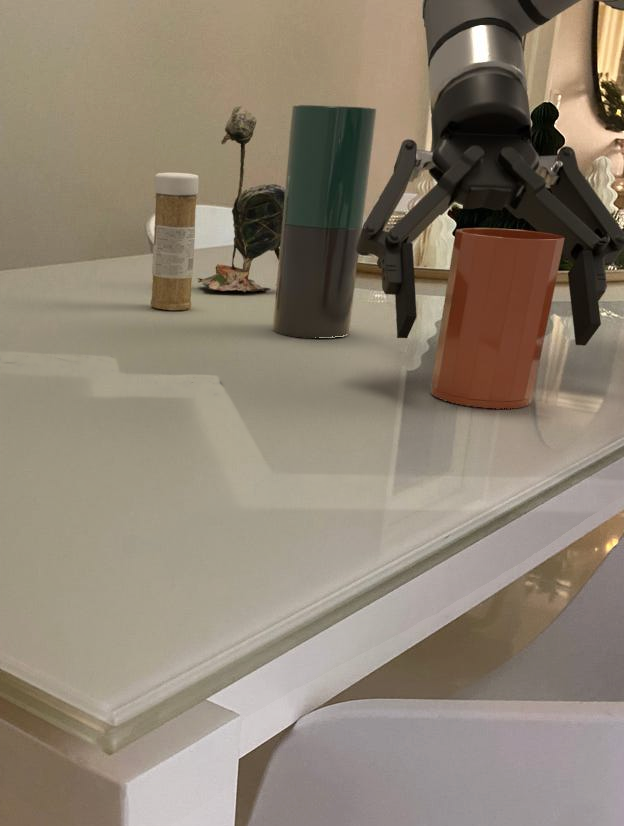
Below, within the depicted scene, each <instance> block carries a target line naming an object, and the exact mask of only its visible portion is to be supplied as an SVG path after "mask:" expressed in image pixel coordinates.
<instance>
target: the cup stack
mask: <svg viewBox="0 0 624 826" xmlns="http://www.w3.org/2000/svg"><path fill="white" fill-rule="evenodd" d="M376 116H377V108H372V107H364V106H363V107H362V106H340V105H339V106H338V105H312V104H311V105H309V104H303V105H302V104H298V105H292V109H291V118H290V129H289V140H288V141H289V142H288V152H287V164H286V173H285V174H286V175H285V176H286V177H285V187H284V189H285V197H284V208H283V219H282V230H281V242H280V247H279V249H280V253H279V260H278V263H277V265H278V266H277V276H276V288H275V299H274V311H273V321H272V331H273V332H274V333H276V334H280V335H283V336H287V337H293V338H299V337H302V338H301V339H311V338H315V337H316V338H319V337H332V336H333V337H335V336H343V335H346V334H349V335H350V330H351V322H352V315H353V307H354V297H355V290H356V280H357V272H358V265H359V256H360V254H358V253H357V251H356V247H357V243H358V240H359V237H360V234H361V231H362V228H363V225H364V215H365V207H366V200H367V191H368V183H369V175H370V165H371V158H372V150H373V142H374V133H375V125H376Z"/></svg>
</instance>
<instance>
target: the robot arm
mask: <svg viewBox="0 0 624 826" xmlns="http://www.w3.org/2000/svg"><path fill="white" fill-rule="evenodd" d="M580 1H582V0H422V10H421V11H422V13H421V14H422V15H421V16H422V20H423V27H424V29H425V40H426V48H427V49H426V50H427V66H428V87H429V101H430V102H429V105H430V114H431V117H430V121H431V122H430V123H431V124H430V125H431V139H432V150H424V149H418V145H417V143H416V141H415V140H413V139H409V138H407V139H404V140H403V141H402V142H401V145H400V148H399V151H398V153H397V157H396V160H395V162H394V166H393V173H392V174H391V176H390V178H389V180H388V182H387V184H386V185H385V186H384V188H383V190H382V192H381V193H380V195H379V197H378V198H377V201H376V203H375V204H374V206H373V207H372V209H371V211H370V213H369V214H368V216H367V217H366V220H365V221H364V222H363V224H362V231H361V234H360V237H359V240H358V243H357V247H356V251H357V253H358V254H359V256H368V255H370V254H371V255H374V256H375V257H377V260H376V266H377V267H378V268H379V269H380V271H381V289H382V291H383V294H384V295H390V296H391V295H392V296H393V295H394V299H395V301H394V302H395V317H396V318H395V320H396V338H397V339H408V338H409V335H410V333H411V331H412V328H413V326H414V324H415V322H416V319H417V318H418V317H417V296H416V295H417V294H416V280H415V262H414V245H413V243H414V241H416V239H417V238H418V237H419V236H420V235H421V234H422V233H423V232H424V231H425V230H426V229H427V228H429V226H431V224H432V223H433V222H434V221H435V220H436V219H437V218H438V217H439V216H443V215H444V214H445V213H446V212H447V211H448V210H449V209H450V208H451V207H452V206H453V205H454V204H455V203H457V204H458V205H461V206H462V209H464V210H465V209H466V210H467V209H468V210H474V209H479V208H484V209H488V210H492V211H502V210H503V209H504V208H506V210H508V212H510V213H511V214H512V215H513V217H515V218H516V219H518V220H520V219H524V220H525V221H526V222H528V224H530V225H531V226H532V227H533V228H534V229H535V230H536V231H537V232H545V233H552V234H557V235H561V236H564V238H565V239H564V244H563V249H562V254H561V255H562V256H564V257H565V258H566V259H567V260H568V261H569V262H570V263H571V264H572V266H571V267H570V269H569V271H568V272H567V279H568V287H569V288H568V289H569V296H570V307H571V315H572V316H571V317H572V325H573V334H574V343H575V346H587V344H589V342H590V340H591V339H592V337H593V336H594V335H595V334H596V332H597V331H598V329H599V328H600V327H601V325H602V322H601V321H602V319H601V312H600V304H599V303H600V302H599V301H601V299H602V297H603V295H605V292H606V291H607V288H608V281H607V275H606V267H609V266H612V265H613V264H614V263H615V261H616V260H617V258H618V257H619V256H620V254H621V253H622V251H623V250H624V230H623V229H622V227H621V226H620V225H619V223H618V222H617V220H616V219H615V218H614V216H613V215H612V213H611V212H610V210H609V209H608V208H607V206H606V205H605V204H604V202H603V200H601V198H600V197H599V195H598V194H597V192H596V191H595V189H594V188H593V186H591V184H590V183H589V181H588V179H587V178H586V177H585V176H584V173H582V171H581V169H580V167H579V164H578V160H577V155H576V153H575V150H574V149H573V148H572V147H570V146H566V145H565V146H562V147H560V148H559V150H558V153H557V154H555V155H539V153H538V152H537V151H536V150H535V148H534V146H533V143H532V122H531V113H530V112H531V111H530V103H529V95H528V89H529V88H528V82H527V81H528V80H527V74H526V73H527V72H526V63H525V54H524V45H523V44H524V43H523V42H524V40H523V39H524V38H523V37H525V36H526V35H528V34H529V33H531V32H533V31H535V30H536V29H538V28H539V27H540V26H543V25H544V24H546V23H548V22H549V21H551V20H552V19H553V18H555V17H557V16H559V15H560V14H561V13H563V12H565V11H566V10H568V9H569V8H571V7H572V6H574V5H576V4H577V3H579V2H580ZM595 1H596V2H601V3H604V5H605V6H607V7H610V8H611V9H613V10H617V11H623V12H624V0H595ZM424 171H428V173H429V175H430V176H431V178H433V179H434V181H435V182H436V184H435V185H434V186H433V187H432V188H431V189H430V190H428V191H427V193H426V194H425V195H424V196H423V197H422V198H421V199H420V200H419V201H418V202H417V203H416V204H415V205H414V206H413V207H412V208H411V209H410V210H408V212H407V213H406V214H405V215H404V216H403V217H401V218H400V220H399V221H398V222H397V223H395V224H394V226H392V227H391V229H389V230H388V231H386V230H385V228H386V226H387V224H388V223H389V221H390V219H391V217H392V216H393V214H394V212H395V210H396V209H397V207H398V205H399V204H400V202H401V200H402V199H403V196H404V195H405V192H406V191H407V188H408V184H409V183H413V182H414V181H415V180H416V179H418V178H419V177H420V176H421V174H422V172H424ZM524 189H525V192H524V194H523V196H522V197H520V194H521V193H522V192H523V191H524ZM548 189H551V191H550V190H548ZM551 192H552V193H551Z"/></svg>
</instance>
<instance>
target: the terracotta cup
mask: <svg viewBox="0 0 624 826" xmlns="http://www.w3.org/2000/svg"><path fill="white" fill-rule="evenodd" d="M564 239H565V238H564V236H561V235H557V234H552V233H545V232H538V231H537V230H536V231H535V230H526V229H511V228H510V229H509V228H496V227H495V228H493V227H466V228H457V229H456V230H455V233H454V239H453V245H452V251H451V252H452V253H451V258H450V264H449V271H448V278H447V282H446V283H447V284H446V288H445V296H444V302H443V309H442V315H441V321H440V327H439V332H438V333H439V334H438V339H437V345H436V346H437V347H436V353H435V359H434V365H433V370H432V378H431V383H430V386H431V387H430V394H431V393H432V394H433V395H434V396H435V397H434V396H433V395H432V394H431V395H432V396H433V397H434V398H436V397H438V398H441V399H443V400H446V401H449V402H453V403H456V404H455V405H458V404H462V405H461V406H463V405H468V406H467V407H469V406H475V407H474V408H476V407H485V408H484V409H487V408H493V409H492V410H511V409H512V408H513V409H520V408H524V407H527V406H529V405H530V404H531V403H532V398H533V394H534V391H535V386H536V380H537V376H538V371H539V367H540V361H541V355H542V352H543V345H544V341H545V337H546V332H547V327H548V321H549V316H550V312H551V308H552V303H553V298H554V292H555V287H556V283H557V278H558V273H559V269H560V265H561V264H560V263H561V259H562V255H563V254H562V249H563V244H564ZM438 398H437V399H438ZM443 400H442V401H443ZM446 401H445V402H446ZM449 402H448V403H449ZM453 403H452V404H453ZM494 408H496V409H494ZM501 408H502V409H501ZM504 408H505V409H504ZM506 408H507V409H506ZM510 408H511V409H510ZM513 409H512V410H513Z"/></svg>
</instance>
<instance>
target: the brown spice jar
mask: <svg viewBox="0 0 624 826" xmlns="http://www.w3.org/2000/svg"><path fill="white" fill-rule="evenodd" d="M199 180H200V179H199V175H197V174H193V173H188V172H159V173H156V174H155V176H154V193H155V196H154V198H155V208H154V209H155V210H154V230H153V231H154V233H153V247H152V265H151V266H152V267H151V268H152V270H151V274H152V285H151V286H152V287H151V299H150V306H151V307H152V308H154V309H158V310H164V311H186V310H189V309H190V308H191V307H192V299H191V297H192V281H193V276H194V275H193V274H194V260H195V242H196V241H195V240H196V239H195V238H196V209H197V208H196V207H197V199H198V196H197V195H198V194H199V185H200V184H199V183H200V182H199Z"/></svg>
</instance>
